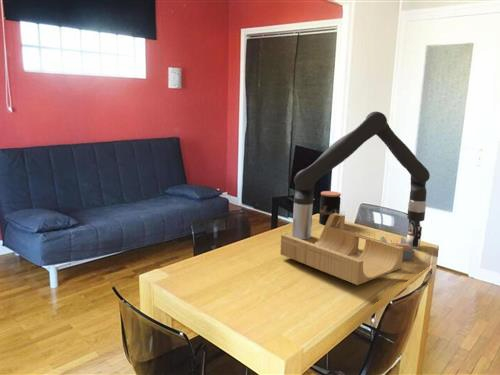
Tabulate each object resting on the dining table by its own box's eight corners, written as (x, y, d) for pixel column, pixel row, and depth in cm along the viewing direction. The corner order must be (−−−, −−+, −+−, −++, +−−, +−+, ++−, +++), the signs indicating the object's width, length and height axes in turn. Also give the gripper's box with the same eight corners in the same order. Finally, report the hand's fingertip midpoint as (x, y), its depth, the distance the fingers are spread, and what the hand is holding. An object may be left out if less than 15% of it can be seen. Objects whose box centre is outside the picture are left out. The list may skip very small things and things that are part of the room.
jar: (407, 248, 201) (409, 233, 199) (404, 244, 207) (405, 230, 205) (421, 249, 200) (423, 234, 199) (417, 245, 206) (419, 230, 205)
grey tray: (388, 259, 185) (389, 249, 184) (380, 245, 204) (381, 236, 203) (413, 260, 184) (414, 251, 183) (402, 246, 202) (403, 237, 202)
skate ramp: (279, 256, 185) (281, 220, 183) (333, 242, 208) (335, 209, 205) (356, 287, 155) (360, 244, 152) (409, 266, 178) (413, 229, 175)
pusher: (391, 256, 186) (392, 244, 186) (390, 254, 189) (391, 242, 188) (408, 257, 186) (409, 245, 185) (407, 255, 188) (408, 243, 187)
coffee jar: (315, 223, 239) (317, 191, 236) (331, 222, 244) (333, 190, 240) (326, 228, 230) (328, 195, 226) (342, 226, 234) (345, 194, 231)
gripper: (404, 205, 208) (401, 239, 211) (412, 212, 194) (408, 248, 197) (420, 206, 207) (417, 240, 210) (429, 213, 193) (425, 249, 196)
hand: (413, 244), depth 203 cm, fingers closed on jar, 6 cm apart
